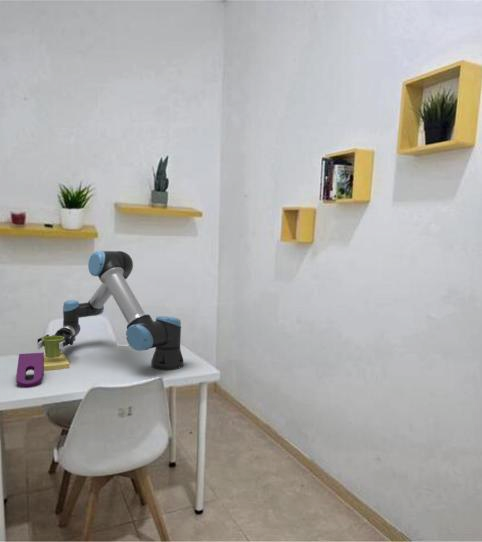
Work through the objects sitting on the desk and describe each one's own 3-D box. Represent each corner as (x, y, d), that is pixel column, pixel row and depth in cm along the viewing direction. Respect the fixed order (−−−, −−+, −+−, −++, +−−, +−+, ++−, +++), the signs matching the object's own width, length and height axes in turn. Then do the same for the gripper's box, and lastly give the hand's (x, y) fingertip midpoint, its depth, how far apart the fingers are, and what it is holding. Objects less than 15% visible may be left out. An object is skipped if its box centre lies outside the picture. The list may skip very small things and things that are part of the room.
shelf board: (69, 367, 191) (69, 363, 191) (40, 371, 184) (40, 366, 184) (62, 356, 208) (62, 352, 208) (35, 359, 202) (35, 355, 201)
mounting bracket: (42, 397, 170) (44, 367, 185) (41, 382, 166) (43, 352, 181) (15, 400, 167) (19, 369, 181) (14, 384, 163) (19, 353, 177)
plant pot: (46, 353, 198) (46, 335, 198) (66, 353, 199) (67, 335, 199) (38, 359, 189) (38, 340, 189) (59, 359, 190) (60, 340, 189)
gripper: (86, 342, 213) (73, 354, 190) (43, 341, 211) (24, 354, 188) (86, 327, 212) (73, 338, 190) (43, 327, 210) (24, 337, 188)
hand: (49, 346), depth 189 cm, fingers closed on plant pot, 8 cm apart
